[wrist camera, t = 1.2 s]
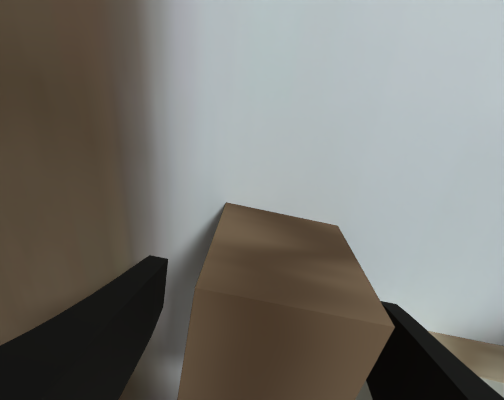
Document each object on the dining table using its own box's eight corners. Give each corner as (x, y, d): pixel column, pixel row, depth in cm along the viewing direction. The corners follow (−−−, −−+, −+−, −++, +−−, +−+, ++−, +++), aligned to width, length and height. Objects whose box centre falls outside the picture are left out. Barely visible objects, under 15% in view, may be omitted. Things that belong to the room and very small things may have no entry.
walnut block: (337, 225, 10) (395, 327, 6) (305, 310, 12) (331, 443, 8) (226, 201, 10) (195, 287, 6) (209, 291, 12) (174, 414, 7)
